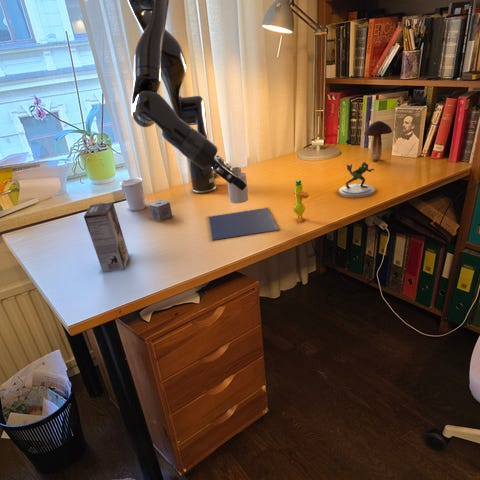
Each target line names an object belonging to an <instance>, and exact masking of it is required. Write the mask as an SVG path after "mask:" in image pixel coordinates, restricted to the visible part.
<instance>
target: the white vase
mask: <svg viewBox="0 0 480 480" xmlns="http://www.w3.org/2000/svg"><path fill="white" fill-rule="evenodd" d="M231 169H232V172H233V173H234V174H235V175H237V177H238V178H240V179H241V180H242V181H243V182H245V183H246V187H245V188H244V190H241V189H239V188H238V187H237V186H235V185H234V184H233V183H231V184H230V183H228V182H227V181H226V182H227V189H228V196H229V197H228V198H229V202H230V203H231V204H243V203H246V202H247V201H249V191H248V181H247V180H248V179H247V173H245V172H242V167H240V166H235V167H232V168H231ZM228 178H229V179H230V178H231V175H228Z"/></svg>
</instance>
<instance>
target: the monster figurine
mask: <svg viewBox="0 0 480 480" xmlns="http://www.w3.org/2000/svg"><path fill="white" fill-rule="evenodd" d="M370 164H371V163H367V162H366V161H364V162H362V163H361V165H360V166H359V165H358V168H357V169H355V170H353V171H352V169H353V163H351V164H350V165H349V164H346V169H347V171H348V172H349V174H350V176H352V178H351V179H349V180H348V181H346V182H345V185H344V186H341V187H340V188H339V189H338V194H339V195H340V196H342V197H345V198H350V199H351V198H353V199H356V198H366V197H369V196H372V195H373V194H375V191H376V187H374V186H373V185H370V184H367V183H365V182H366V178H365V177H364V176H363V174H365V173H366V172H369V173H372V171H373V172H375V169H374V168H371V169H370V168H369V165H370ZM357 180H361V183H352V182H354V181H357Z"/></svg>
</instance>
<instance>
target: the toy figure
mask: <svg viewBox="0 0 480 480" xmlns="http://www.w3.org/2000/svg"><path fill="white" fill-rule="evenodd" d="M294 191H295V192H294V195H295V200H296V204H295V203H294V204H293V205H294V206H293V207H294V208H293V209H292V210H293V212H294V213H295V214H296V216H297V221H298V222H303V221H306V219H305V217H303V215H304V213H305V211H306V208H305V205H304V203H303V199H308V198H309V196H310V193H308V192H306V191H304V190H303V183H302V180H301V179H298V180H295V184H294Z"/></svg>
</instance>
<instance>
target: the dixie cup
mask: <svg viewBox="0 0 480 480" xmlns="http://www.w3.org/2000/svg"><path fill="white" fill-rule="evenodd" d="M119 185H120V187H121V189H122V193H123V195H124V197H125V199H126V202H127V204H128V207H129V209H130V211H140V210H143V209H145V208H146V201H145V193H144V185H143V178H141V177H132V178H127V179H124V180H121V181H119Z"/></svg>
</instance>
